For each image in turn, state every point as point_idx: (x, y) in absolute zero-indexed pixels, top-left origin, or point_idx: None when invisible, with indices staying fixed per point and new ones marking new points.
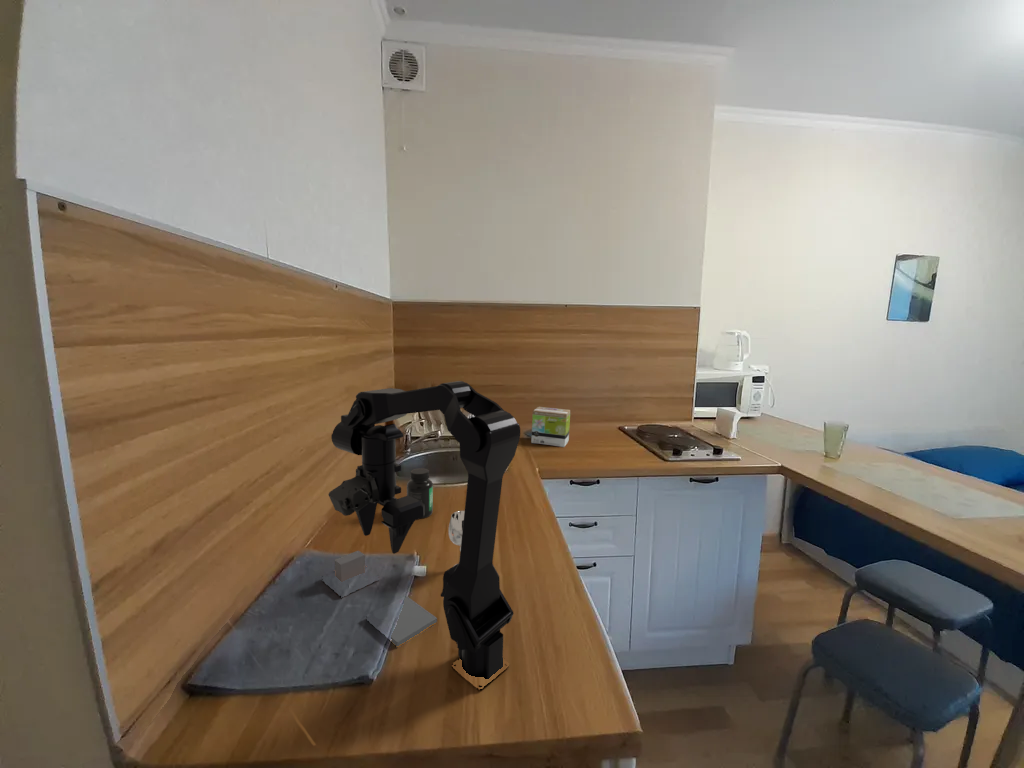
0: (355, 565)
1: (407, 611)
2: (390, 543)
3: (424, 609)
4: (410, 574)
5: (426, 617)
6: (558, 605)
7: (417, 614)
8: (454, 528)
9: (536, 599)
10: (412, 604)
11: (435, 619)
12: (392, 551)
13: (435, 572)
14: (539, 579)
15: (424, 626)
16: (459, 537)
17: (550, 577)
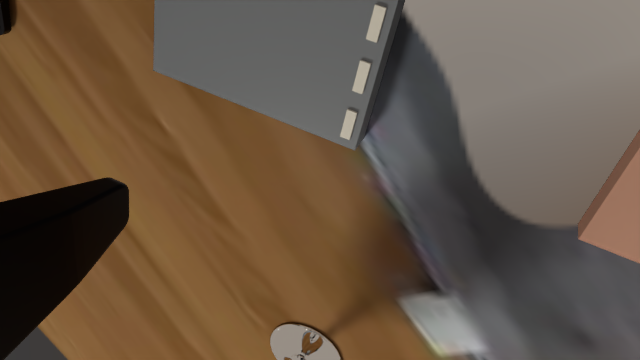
0: None
1: (267, 56)
2: (37, 220)
3: (221, 95)
4: (463, 295)
5: (182, 55)
6: None
7: (220, 56)
8: None
9: None
10: (282, 104)
11: (154, 62)
12: (102, 186)
13: (376, 323)
14: (106, 336)
15: (156, 8)
16: None
17: (94, 347)
